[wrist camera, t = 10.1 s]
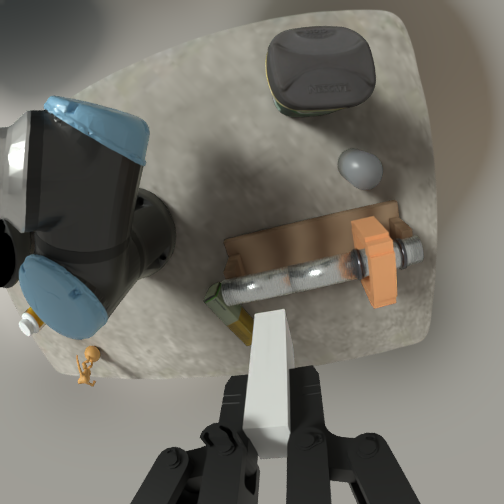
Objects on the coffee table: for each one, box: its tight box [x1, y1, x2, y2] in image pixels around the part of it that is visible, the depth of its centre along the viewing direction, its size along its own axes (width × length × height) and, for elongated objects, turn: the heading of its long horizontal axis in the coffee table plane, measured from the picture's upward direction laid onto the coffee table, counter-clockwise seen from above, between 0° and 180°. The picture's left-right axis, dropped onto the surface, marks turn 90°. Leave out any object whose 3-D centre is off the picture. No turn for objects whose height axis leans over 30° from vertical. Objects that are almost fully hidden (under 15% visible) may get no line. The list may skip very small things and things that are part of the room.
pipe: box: [221, 236, 424, 306], centre depth 36 cm, size 27×4×4 cm, turn 106°
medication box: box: [204, 282, 254, 346], centre depth 49 cm, size 12×3×4 cm, turn 37°
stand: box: [223, 200, 413, 279], centre depth 41 cm, size 27×9×7 cm, turn 106°
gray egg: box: [338, 148, 383, 190], centre depth 36 cm, size 5×5×6 cm
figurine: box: [77, 346, 100, 386], centre depth 54 cm, size 8×6×12 cm
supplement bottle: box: [19, 307, 45, 336], centre depth 52 cm, size 6×6×10 cm
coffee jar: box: [265, 26, 376, 117], centre depth 26 cm, size 10×8×19 cm
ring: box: [351, 216, 397, 309], centre depth 35 cm, size 3×10×10 cm, turn 16°
